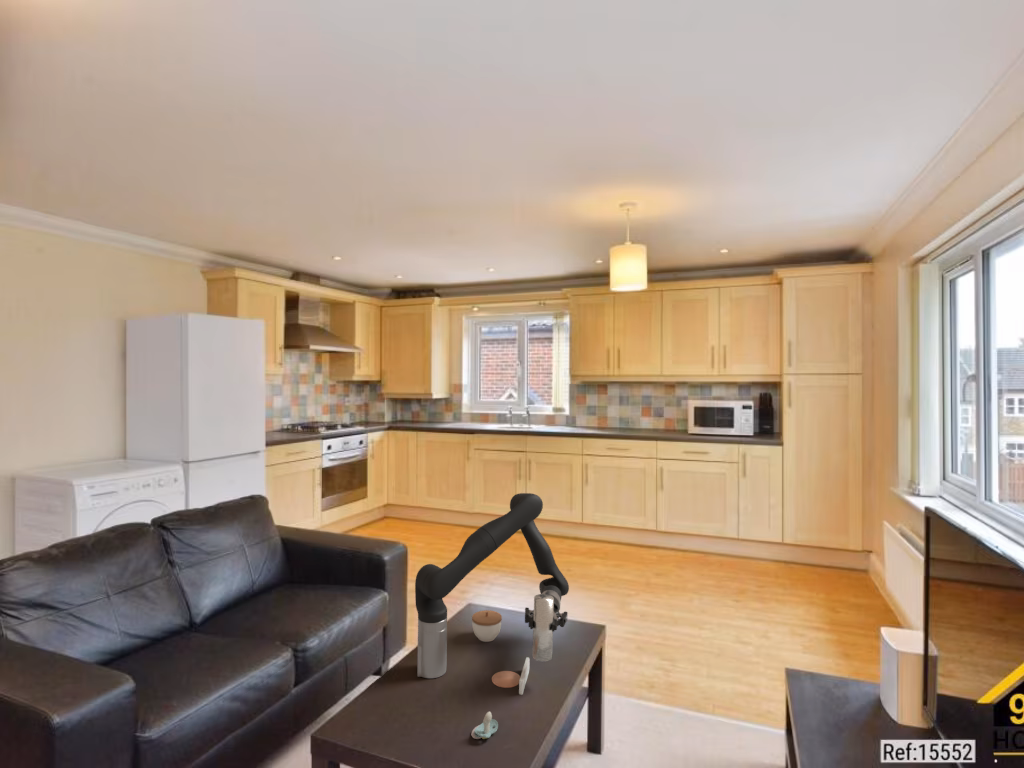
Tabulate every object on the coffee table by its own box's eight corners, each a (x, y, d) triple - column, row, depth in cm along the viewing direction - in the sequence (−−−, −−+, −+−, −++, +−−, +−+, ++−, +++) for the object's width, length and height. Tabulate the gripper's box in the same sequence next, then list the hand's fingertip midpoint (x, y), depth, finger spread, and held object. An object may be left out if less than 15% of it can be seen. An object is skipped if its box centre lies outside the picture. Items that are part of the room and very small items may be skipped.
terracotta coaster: (493, 688, 164) (493, 687, 164) (490, 673, 173) (490, 672, 173) (523, 686, 165) (523, 685, 165) (517, 670, 174) (517, 669, 174)
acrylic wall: (522, 694, 161) (522, 681, 161) (519, 694, 161) (519, 680, 161) (529, 670, 175) (529, 657, 175) (526, 669, 175) (526, 657, 175)
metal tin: (534, 662, 163) (536, 602, 163) (530, 652, 169) (532, 594, 169) (554, 660, 164) (555, 601, 164) (549, 651, 170) (551, 593, 170)
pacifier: (466, 738, 141) (485, 746, 138) (465, 714, 142) (484, 721, 138) (482, 723, 148) (500, 730, 144) (482, 700, 148) (500, 706, 145)
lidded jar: (475, 629, 202) (475, 604, 202) (503, 632, 201) (503, 606, 201) (468, 643, 192) (469, 617, 192) (498, 646, 190) (499, 619, 190)
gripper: (527, 591, 182) (519, 612, 166) (570, 596, 179) (566, 617, 163) (526, 614, 182) (518, 637, 166) (569, 618, 179) (565, 642, 163)
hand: (542, 627), depth 164 cm, fingers closed on metal tin, 6 cm apart
